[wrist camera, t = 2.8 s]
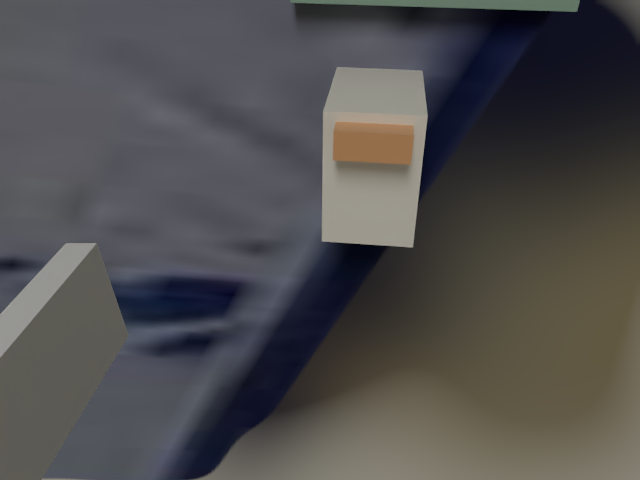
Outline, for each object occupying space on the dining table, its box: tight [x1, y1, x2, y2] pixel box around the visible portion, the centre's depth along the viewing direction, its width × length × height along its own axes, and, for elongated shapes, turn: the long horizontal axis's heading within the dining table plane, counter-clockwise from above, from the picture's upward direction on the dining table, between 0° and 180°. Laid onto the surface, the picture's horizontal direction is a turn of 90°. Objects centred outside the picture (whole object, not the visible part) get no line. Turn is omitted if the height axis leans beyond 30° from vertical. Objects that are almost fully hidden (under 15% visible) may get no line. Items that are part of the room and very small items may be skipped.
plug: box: [322, 67, 428, 247], centre depth 26 cm, size 4×6×7 cm, turn 179°
